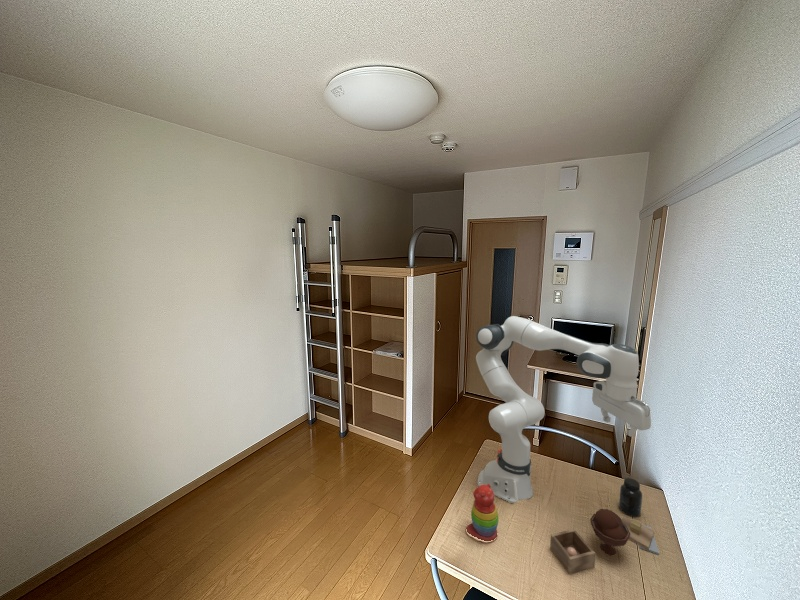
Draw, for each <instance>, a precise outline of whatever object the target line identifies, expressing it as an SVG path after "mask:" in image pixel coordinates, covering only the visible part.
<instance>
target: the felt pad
mask: <svg viewBox="0 0 800 600" xmlns="http://www.w3.org/2000/svg"><path fill="white" fill-rule="evenodd" d="M620 518H621V520H622V518H623V517H620ZM641 525H643V526H645V527H647V528H649V529H651V530H653V529H652V526H648V525H645V524H641ZM655 538H656V537H655V534H654V535H653V538H652V541H651V544H650V547H649V550H647V549H645V548H643V547H641V546H639V545H638V544H637V545H638V548H639V549H641V550H643V551H646V552H651V553H653V554H656V555H660V551H659V548H658V544H657V541H656V539H655Z"/></svg>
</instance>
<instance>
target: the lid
mask: <svg viewBox="0 0 800 600" xmlns="http://www.w3.org/2000/svg"><path fill="white" fill-rule="evenodd" d="M621 518H622V522H623V523H624V524H625V525H626V526H627V528H628V530H629V532H630V537H629V539H628V541H631V542H633V543H634V544H636V545H639V546H641V547H643V548H645V549H647V550H649V547H650V544H651V541H652V538H653V535H654V536H655V530H654V529H652V530H651V529H649V528H647V527H645V526H646V525H645V526H643V525H644V524H642V522H641V521H639V520H637V519H635V518H634V517H633V518H632V519H631V518H629V517H627V516H625V515H623V517H621ZM641 524H642V525H641ZM639 546H638V547H639Z"/></svg>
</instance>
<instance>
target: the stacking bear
mask: <svg viewBox="0 0 800 600" xmlns="http://www.w3.org/2000/svg"><path fill="white" fill-rule="evenodd" d="M472 491H473V492H472V493H473V494H472V495H473V497H474V498H473V499H474V500H473V503H472V508H471V511H470V512H471V514H470V515H471V522H472V523H471V524H468V525H467V526H466V527H465V530H466V529H467V532H468V533H469V534H471V535H472V536H474V537H477V538H478V539H481V540H484V541H491V540H494V539H495V538H496V537H497V538H498V535H497V533H498V530H497V529H498V525H499V513H498V508H497V505H496V504H495V502H494V500H495V496H494V492H493V490H492V489H491V486H490V484H487V485H480V486H479V487H476V488H474V489H473V490H472ZM497 538H496V539H497Z"/></svg>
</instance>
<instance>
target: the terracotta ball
mask: <svg viewBox="0 0 800 600" xmlns="http://www.w3.org/2000/svg"><path fill="white" fill-rule="evenodd" d="M566 551H567V552H568V554H569V555H570V556H575V555H577V552H576V550H575V549H574V548H572V547H568V548H567V550H566Z"/></svg>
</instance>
